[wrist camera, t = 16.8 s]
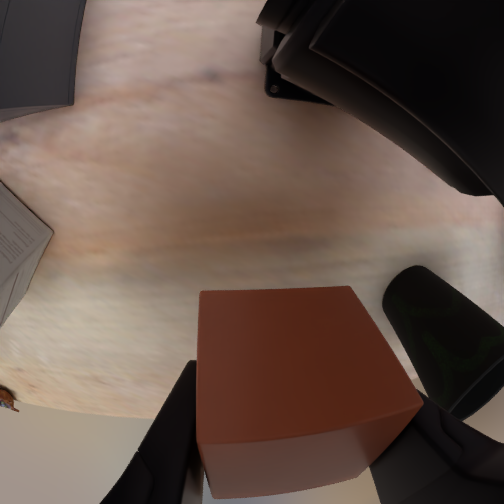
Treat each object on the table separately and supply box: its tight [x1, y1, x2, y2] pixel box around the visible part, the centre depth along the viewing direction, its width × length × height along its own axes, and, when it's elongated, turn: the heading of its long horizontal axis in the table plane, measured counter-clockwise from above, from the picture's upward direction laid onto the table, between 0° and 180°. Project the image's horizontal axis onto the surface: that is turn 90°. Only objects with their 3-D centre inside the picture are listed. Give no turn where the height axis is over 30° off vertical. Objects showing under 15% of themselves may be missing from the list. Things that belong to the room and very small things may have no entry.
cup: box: [382, 266, 504, 421], centre depth 18 cm, size 8×8×12 cm
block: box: [196, 286, 423, 499], centre depth 7 cm, size 4×4×4 cm
